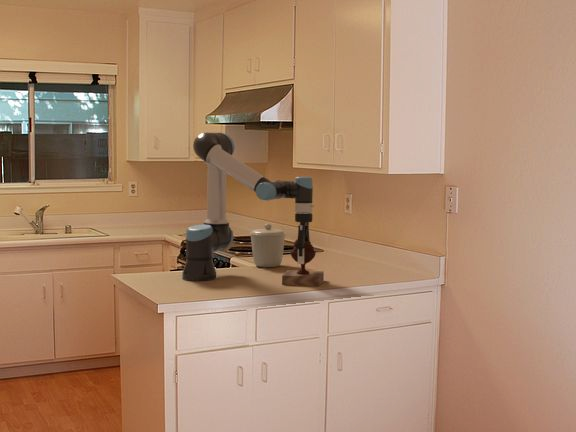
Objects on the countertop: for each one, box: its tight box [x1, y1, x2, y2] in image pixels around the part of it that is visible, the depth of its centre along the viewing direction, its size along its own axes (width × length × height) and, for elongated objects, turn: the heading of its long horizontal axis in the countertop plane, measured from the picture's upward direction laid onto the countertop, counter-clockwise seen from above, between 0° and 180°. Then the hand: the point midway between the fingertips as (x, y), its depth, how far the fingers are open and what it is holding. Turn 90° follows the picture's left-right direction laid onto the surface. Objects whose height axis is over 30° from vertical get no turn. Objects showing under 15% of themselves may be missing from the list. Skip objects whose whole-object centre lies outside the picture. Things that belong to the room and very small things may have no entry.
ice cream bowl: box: [289, 238, 316, 274], centre depth 334 cm, size 11×11×15 cm
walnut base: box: [281, 269, 325, 287], centre depth 335 cm, size 16×14×4 cm
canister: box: [249, 223, 287, 268], centre depth 378 cm, size 18×18×21 cm
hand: (303, 261), depth 334 cm, fingers open, 13 cm apart
